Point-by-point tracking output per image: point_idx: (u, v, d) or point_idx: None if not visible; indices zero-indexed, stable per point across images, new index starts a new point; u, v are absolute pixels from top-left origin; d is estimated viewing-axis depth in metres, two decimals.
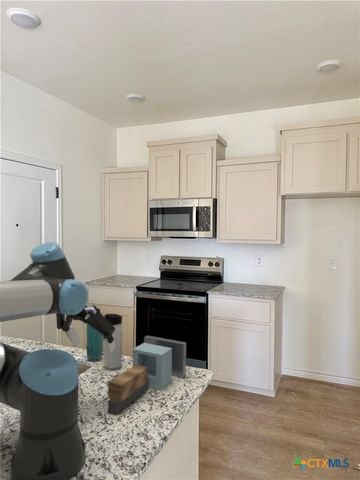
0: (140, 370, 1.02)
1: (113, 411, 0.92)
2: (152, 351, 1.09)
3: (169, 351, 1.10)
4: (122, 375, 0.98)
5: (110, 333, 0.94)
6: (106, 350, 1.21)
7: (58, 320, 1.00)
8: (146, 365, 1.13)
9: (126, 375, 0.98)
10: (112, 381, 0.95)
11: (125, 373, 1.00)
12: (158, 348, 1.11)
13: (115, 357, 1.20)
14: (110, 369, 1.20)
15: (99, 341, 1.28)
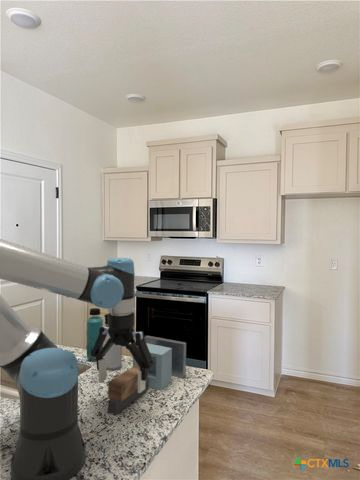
0: None
1: (113, 411, 0.92)
2: (152, 351, 1.09)
3: (169, 351, 1.10)
4: (122, 375, 0.98)
5: (149, 365, 0.90)
6: None
7: (96, 344, 0.97)
8: None
9: (126, 375, 0.98)
10: (112, 381, 0.95)
11: (125, 373, 1.00)
12: (158, 348, 1.11)
13: (115, 357, 1.20)
14: (110, 369, 1.20)
15: None
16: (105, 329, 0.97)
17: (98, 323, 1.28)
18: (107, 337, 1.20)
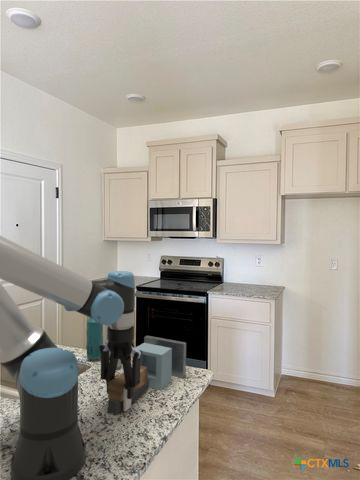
0: (140, 370, 1.02)
1: (113, 411, 0.92)
2: (152, 351, 1.09)
3: (169, 351, 1.10)
4: (122, 375, 0.98)
5: (135, 385, 0.92)
6: None
7: (102, 365, 0.96)
8: (146, 365, 1.13)
9: None
10: (112, 381, 0.95)
11: None
12: (158, 348, 1.11)
13: None
14: None
15: (99, 341, 1.28)
16: (105, 346, 0.97)
17: (98, 323, 1.28)
18: None
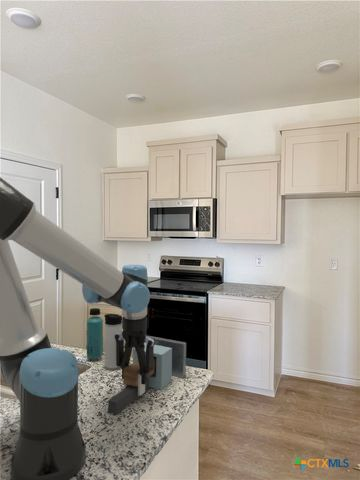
0: None
1: (113, 411, 0.92)
2: None
3: (169, 351, 1.11)
4: (136, 362, 1.05)
5: (149, 371, 0.98)
6: (106, 350, 1.21)
7: (117, 353, 1.03)
8: None
9: None
10: (127, 367, 1.01)
11: None
12: (158, 348, 1.12)
13: (115, 357, 1.20)
14: (110, 369, 1.20)
15: (99, 341, 1.28)
16: (119, 335, 1.03)
17: (98, 323, 1.28)
18: (107, 337, 1.20)
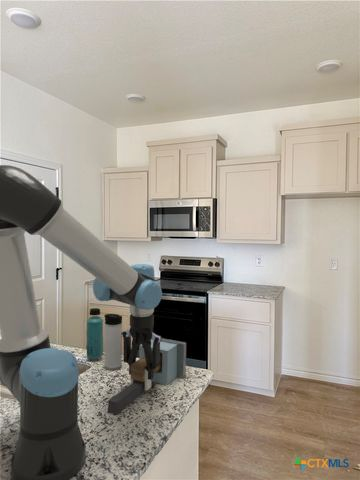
0: None
1: (113, 411, 0.92)
2: None
3: (174, 347, 1.14)
4: (142, 359, 1.08)
5: (155, 367, 1.02)
6: (106, 350, 1.21)
7: (125, 349, 1.06)
8: None
9: None
10: (134, 363, 1.04)
11: None
12: (164, 344, 1.15)
13: (115, 357, 1.20)
14: (110, 369, 1.20)
15: (99, 341, 1.28)
16: (127, 332, 1.07)
17: (98, 323, 1.28)
18: (107, 337, 1.20)
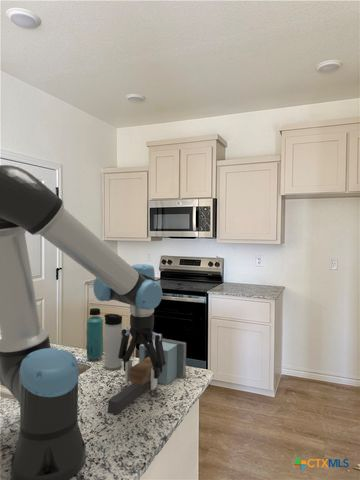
0: None
1: (113, 411, 0.92)
2: None
3: (174, 347, 1.14)
4: (142, 362, 1.08)
5: (161, 365, 1.01)
6: (106, 350, 1.21)
7: (121, 346, 1.07)
8: None
9: (146, 362, 1.08)
10: (133, 367, 1.05)
11: (145, 361, 1.09)
12: (164, 344, 1.15)
13: (115, 357, 1.20)
14: (110, 369, 1.20)
15: (99, 341, 1.28)
16: (127, 330, 1.07)
17: (98, 323, 1.28)
18: (107, 337, 1.20)
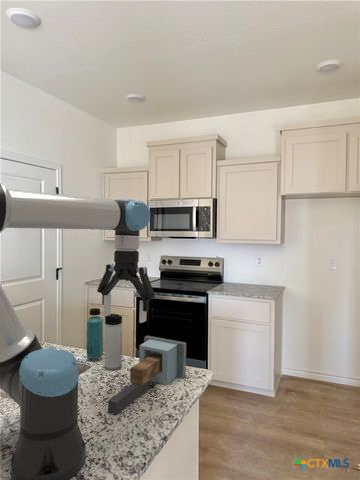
0: (158, 358, 1.12)
1: (113, 411, 0.92)
2: (158, 347, 1.12)
3: (174, 347, 1.14)
4: (142, 362, 1.08)
5: (150, 296, 0.98)
6: (106, 350, 1.21)
7: (102, 281, 1.05)
8: None
9: (146, 362, 1.08)
10: (133, 367, 1.05)
11: (145, 361, 1.09)
12: (164, 344, 1.15)
13: (115, 357, 1.20)
14: (110, 369, 1.20)
15: (99, 341, 1.28)
16: (111, 266, 1.05)
17: (98, 323, 1.28)
18: (107, 337, 1.20)
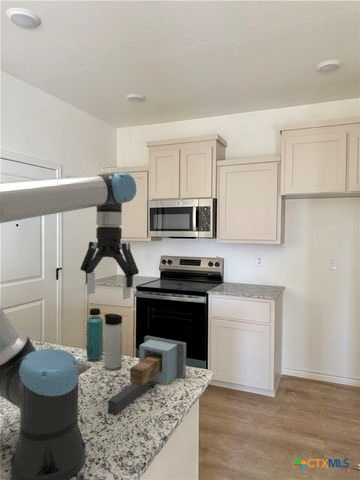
0: (158, 358, 1.12)
1: (113, 411, 0.92)
2: (158, 347, 1.12)
3: (174, 347, 1.14)
4: (142, 362, 1.08)
5: (134, 272, 0.97)
6: (106, 350, 1.21)
7: (85, 258, 1.04)
8: None
9: (146, 362, 1.08)
10: (133, 367, 1.05)
11: (145, 361, 1.09)
12: (164, 344, 1.15)
13: (115, 357, 1.20)
14: (110, 369, 1.20)
15: (99, 341, 1.28)
16: (94, 244, 1.03)
17: (98, 323, 1.28)
18: (107, 337, 1.20)
